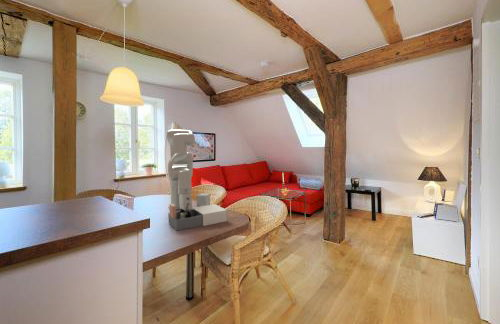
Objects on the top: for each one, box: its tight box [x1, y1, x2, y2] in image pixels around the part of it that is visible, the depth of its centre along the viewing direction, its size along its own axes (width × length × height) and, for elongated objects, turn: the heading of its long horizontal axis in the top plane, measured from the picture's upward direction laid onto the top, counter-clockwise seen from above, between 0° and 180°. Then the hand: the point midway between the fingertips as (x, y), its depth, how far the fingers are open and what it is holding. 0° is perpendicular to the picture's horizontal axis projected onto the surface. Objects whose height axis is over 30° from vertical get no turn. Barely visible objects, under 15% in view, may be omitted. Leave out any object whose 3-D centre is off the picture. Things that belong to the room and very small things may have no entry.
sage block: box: [180, 212, 186, 219], centre depth 148 cm, size 5×5×6 cm
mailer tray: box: [168, 203, 203, 231], centre depth 148 cm, size 16×19×13 cm
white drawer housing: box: [192, 203, 228, 227], centre depth 157 cm, size 18×16×7 cm
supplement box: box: [196, 192, 211, 207], centre depth 174 cm, size 7×7×13 cm
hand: (185, 218), depth 148 cm, fingers open, 9 cm apart
